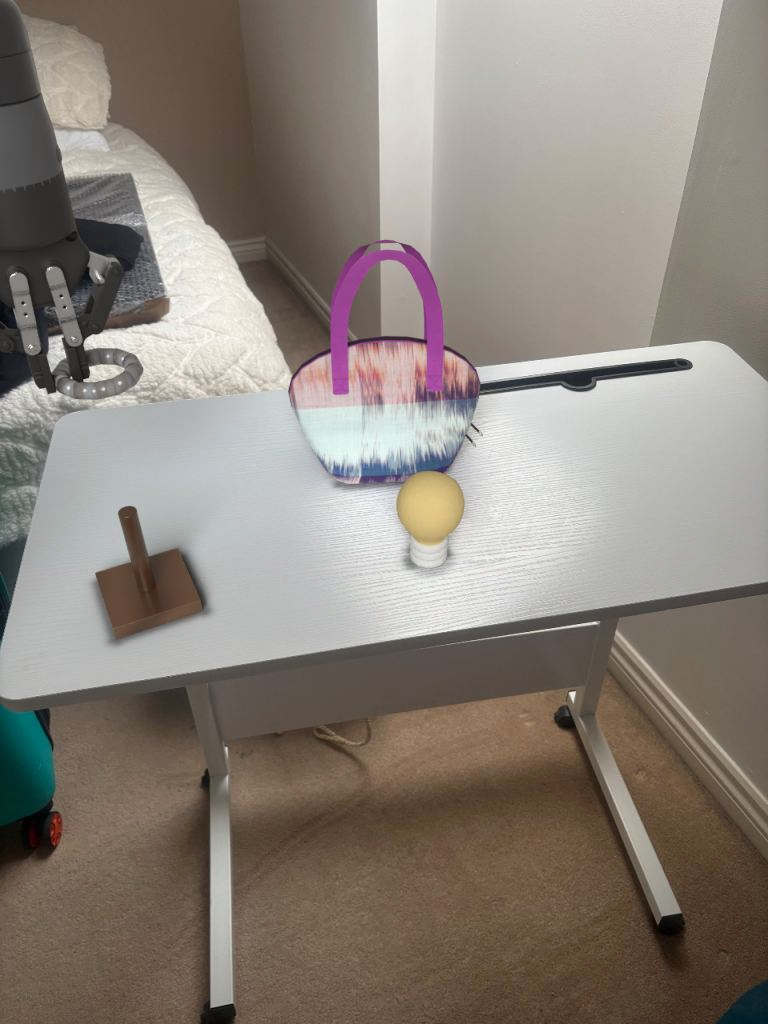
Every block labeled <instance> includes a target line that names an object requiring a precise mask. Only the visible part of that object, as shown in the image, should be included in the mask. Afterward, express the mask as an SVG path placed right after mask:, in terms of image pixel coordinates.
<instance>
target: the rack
mask: <svg viewBox="0 0 768 1024" xmlns="http://www.w3.org/2000/svg"><path fill="white" fill-rule="evenodd" d="M117 516H118V519H119V523H120V528H121V530H122V534H123V538H124V541H125V545H126V549H127V553H128V556H129V560H130V561H129V562H126V563H123V564H119V565H116V566H112V567H110V568H106V569H103V570H100V571H96V572H95V573H94V575H95V578H96V583H97V585H98V588H99V591H100V594H101V597H102V600H103V603H104V607H105V610H106V613H107V616H108V619H109V623H110V625H111V629H112V632H113V635H114V637H115V640H120V639H124V638H126V637H130V636H132V635H135V634H138V633H141V632H144V631H148V630H151V629H153V628H157V627H159V626H162V625H166V624H168V623H171V622H174V621H178V620H181V619H185V618H187V617H189V616H193V615H195V614H198V613H201V612H203V611H204V609H203V608H204V607H203V603H202V600H201V597H200V595H199V593H198V590H197V588H196V586H195V584H194V581H193V580H192V577H191V575H190V573H189V570H188V568H187V566H186V564H185V561H184V559H183V557H182V554H181V552H180V550H179V548H178V547H176V548H172V549H169V550H166V551H163V552H159V553H156V554H153V555H149V552H148V548H147V545H146V541H145V536H144V533H143V529H142V524H141V521H140V517H139V513H138V509H137V508H136V507H135V506H133V505H125V506H122V507H120V508H119V510H118V511H117Z"/></svg>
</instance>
